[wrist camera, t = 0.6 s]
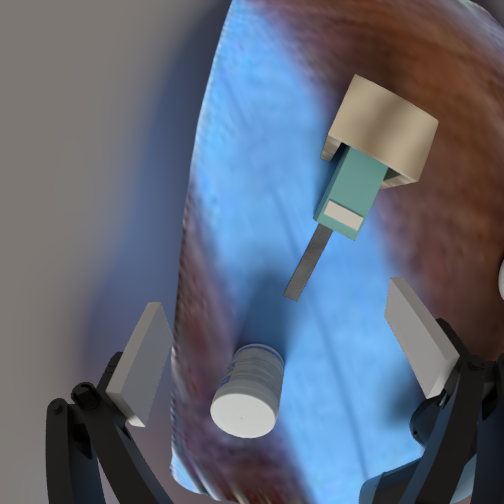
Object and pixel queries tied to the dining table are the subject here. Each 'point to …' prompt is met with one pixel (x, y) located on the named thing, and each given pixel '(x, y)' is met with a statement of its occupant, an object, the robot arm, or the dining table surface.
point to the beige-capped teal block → (350, 192)
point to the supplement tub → (249, 392)
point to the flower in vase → (501, 280)
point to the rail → (308, 262)
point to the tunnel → (383, 131)
